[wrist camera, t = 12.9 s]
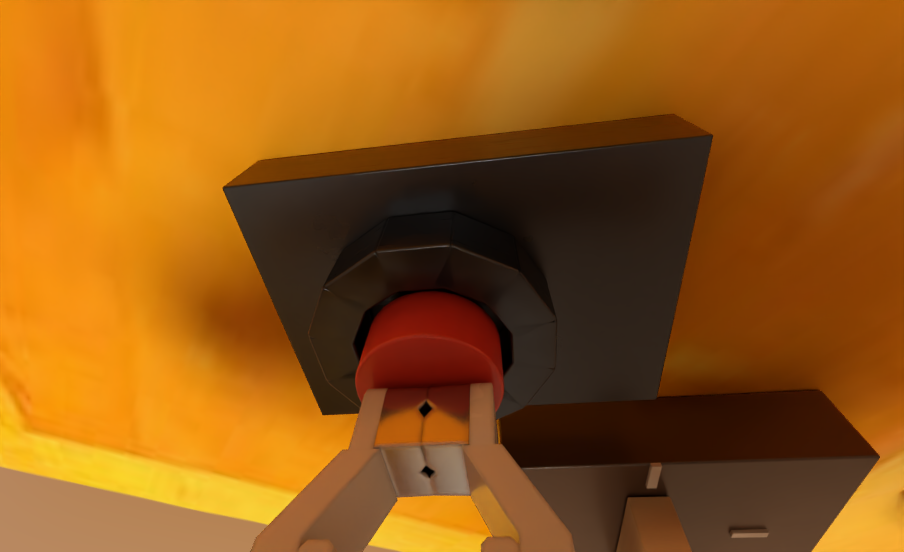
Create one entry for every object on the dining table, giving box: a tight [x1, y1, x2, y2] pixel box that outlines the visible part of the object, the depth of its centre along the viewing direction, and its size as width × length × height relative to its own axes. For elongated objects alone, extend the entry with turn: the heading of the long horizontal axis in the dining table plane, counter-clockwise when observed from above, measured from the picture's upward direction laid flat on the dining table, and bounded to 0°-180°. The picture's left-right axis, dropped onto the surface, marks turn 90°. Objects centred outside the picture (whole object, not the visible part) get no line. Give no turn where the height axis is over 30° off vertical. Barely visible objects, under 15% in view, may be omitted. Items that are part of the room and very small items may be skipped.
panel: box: [499, 390, 880, 552], centre depth 19 cm, size 13×10×3 cm
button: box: [355, 291, 504, 412], centre depth 11 cm, size 4×4×2 cm
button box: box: [223, 114, 713, 420], centre depth 13 cm, size 12×9×4 cm
